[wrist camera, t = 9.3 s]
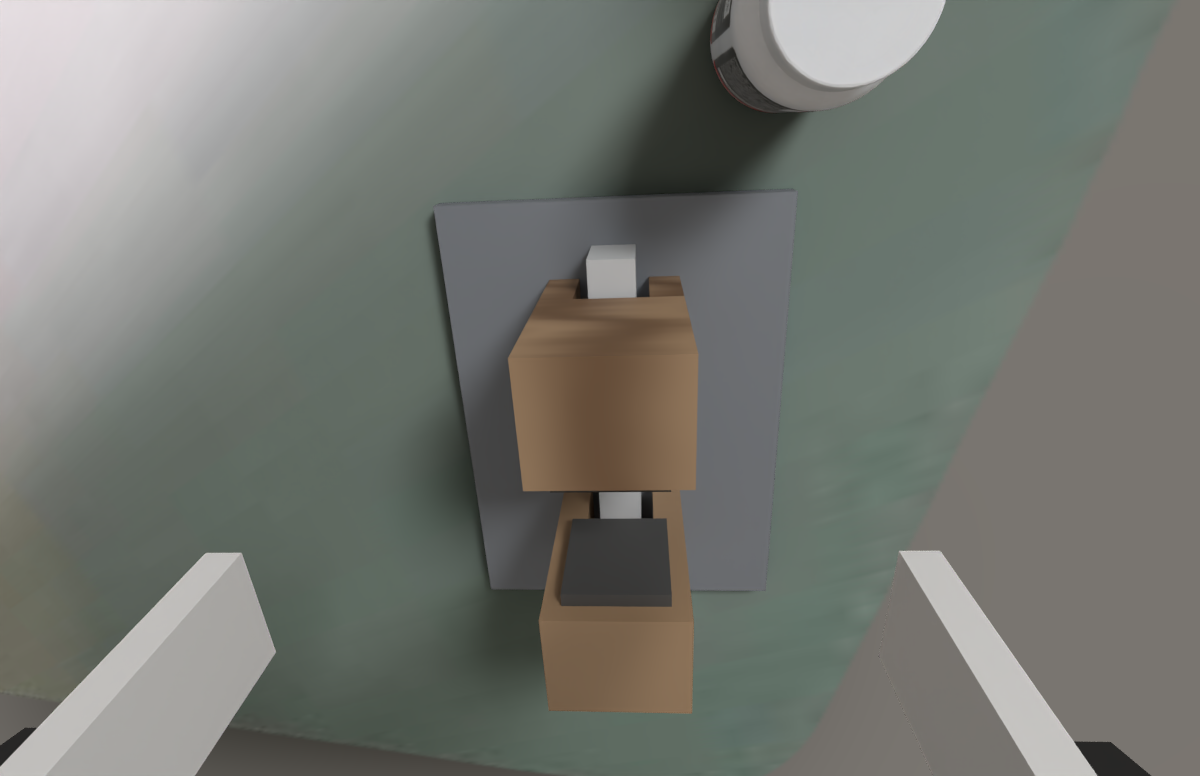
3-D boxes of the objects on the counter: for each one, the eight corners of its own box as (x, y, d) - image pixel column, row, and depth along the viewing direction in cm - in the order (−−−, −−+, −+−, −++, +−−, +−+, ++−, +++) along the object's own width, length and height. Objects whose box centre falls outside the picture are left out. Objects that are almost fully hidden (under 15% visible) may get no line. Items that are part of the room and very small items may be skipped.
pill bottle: (861, 85, 26) (982, 72, 17) (726, 131, 27) (771, 142, 18) (838, -74, 24) (962, -189, 14) (692, -18, 25) (724, -92, 15)
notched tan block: (558, 389, 31) (524, 505, 22) (549, 279, 29) (507, 358, 20) (678, 387, 31) (695, 504, 21) (679, 275, 28) (698, 353, 19)
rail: (494, 577, 38) (442, 747, 28) (439, 203, 29) (331, 253, 19) (762, 578, 36) (809, 756, 26) (792, 188, 27) (880, 233, 17)
